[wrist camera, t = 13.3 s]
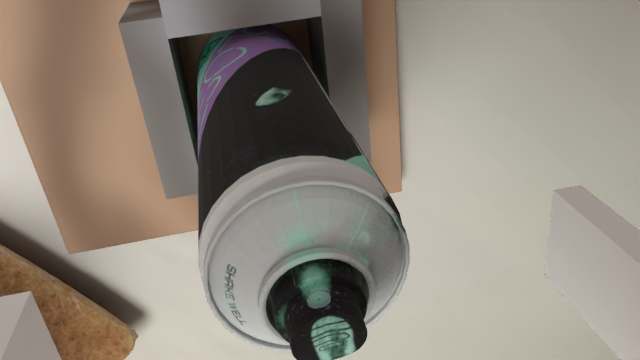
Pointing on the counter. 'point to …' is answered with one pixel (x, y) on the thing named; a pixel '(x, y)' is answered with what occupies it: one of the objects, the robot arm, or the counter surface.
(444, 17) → the counter surface
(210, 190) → the spray can
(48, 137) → the socket board
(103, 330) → the tan boot-shaped piece
